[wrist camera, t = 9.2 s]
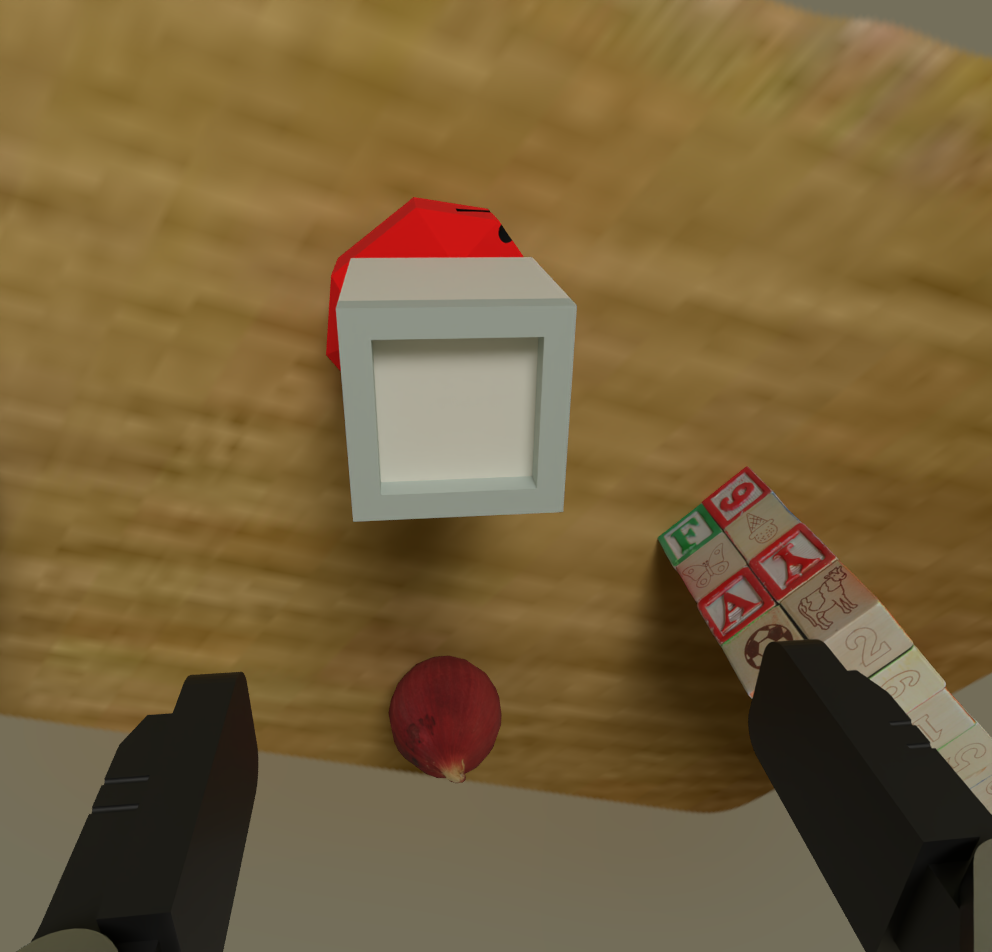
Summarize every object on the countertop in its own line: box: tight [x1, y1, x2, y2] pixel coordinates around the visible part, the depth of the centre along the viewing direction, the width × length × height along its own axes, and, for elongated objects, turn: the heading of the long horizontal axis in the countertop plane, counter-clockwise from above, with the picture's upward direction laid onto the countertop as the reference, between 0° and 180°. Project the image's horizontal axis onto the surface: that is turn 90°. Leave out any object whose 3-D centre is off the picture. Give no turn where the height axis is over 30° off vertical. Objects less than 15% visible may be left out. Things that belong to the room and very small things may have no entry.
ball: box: [326, 197, 523, 371], centre depth 29 cm, size 8×8×8 cm
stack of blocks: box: [658, 467, 992, 814], centre depth 38 cm, size 21×6×12 cm, turn 42°
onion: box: [389, 656, 501, 783], centre depth 38 cm, size 6×6×8 cm
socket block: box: [336, 257, 577, 522], centre depth 22 cm, size 6×6×7 cm
